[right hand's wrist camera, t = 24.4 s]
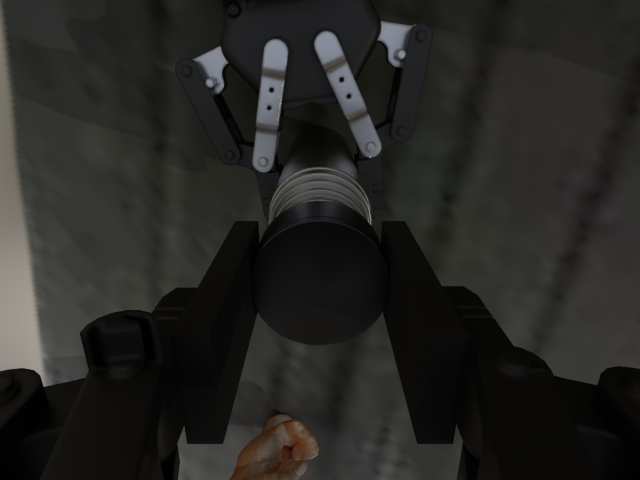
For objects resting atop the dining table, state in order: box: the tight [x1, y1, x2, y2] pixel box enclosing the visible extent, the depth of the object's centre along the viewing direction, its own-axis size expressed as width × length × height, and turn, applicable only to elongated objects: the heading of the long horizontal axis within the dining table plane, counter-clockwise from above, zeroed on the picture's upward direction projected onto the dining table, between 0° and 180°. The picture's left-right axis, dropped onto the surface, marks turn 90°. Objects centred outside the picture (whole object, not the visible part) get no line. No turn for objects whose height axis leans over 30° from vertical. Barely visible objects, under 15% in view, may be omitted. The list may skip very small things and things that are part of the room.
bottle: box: [268, 127, 372, 225], centre depth 22 cm, size 4×4×19 cm
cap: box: [250, 201, 390, 345], centre depth 13 cm, size 4×4×2 cm
